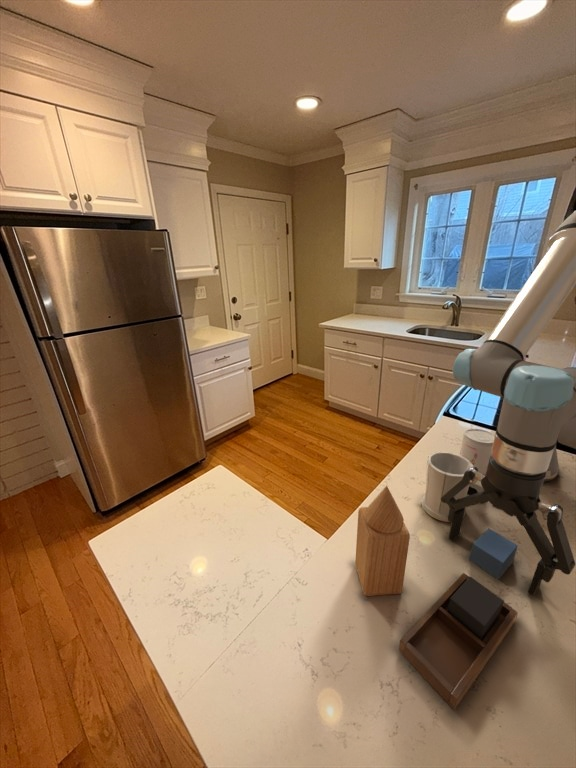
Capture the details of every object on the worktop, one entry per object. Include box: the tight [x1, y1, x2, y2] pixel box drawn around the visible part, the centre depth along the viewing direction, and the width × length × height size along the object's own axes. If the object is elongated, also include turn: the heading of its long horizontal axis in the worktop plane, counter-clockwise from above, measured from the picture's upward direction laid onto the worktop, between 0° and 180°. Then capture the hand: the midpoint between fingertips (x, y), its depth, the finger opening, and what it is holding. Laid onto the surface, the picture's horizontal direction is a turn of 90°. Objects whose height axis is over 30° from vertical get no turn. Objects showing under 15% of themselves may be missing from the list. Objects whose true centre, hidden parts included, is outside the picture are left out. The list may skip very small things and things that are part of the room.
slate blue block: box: [468, 527, 519, 580], centre depth 58 cm, size 6×5×4 cm
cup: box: [420, 451, 484, 523], centre depth 69 cm, size 10×9×12 cm
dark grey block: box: [447, 576, 505, 641], centre depth 49 cm, size 6×5×4 cm
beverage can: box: [459, 428, 495, 495], centre depth 74 cm, size 6×7×15 cm
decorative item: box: [354, 485, 411, 597], centre depth 53 cm, size 7×7×20 cm
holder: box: [398, 572, 519, 710], centre depth 47 cm, size 17×8×2 cm, turn 126°
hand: (490, 560), depth 59 cm, fingers open, 13 cm apart
